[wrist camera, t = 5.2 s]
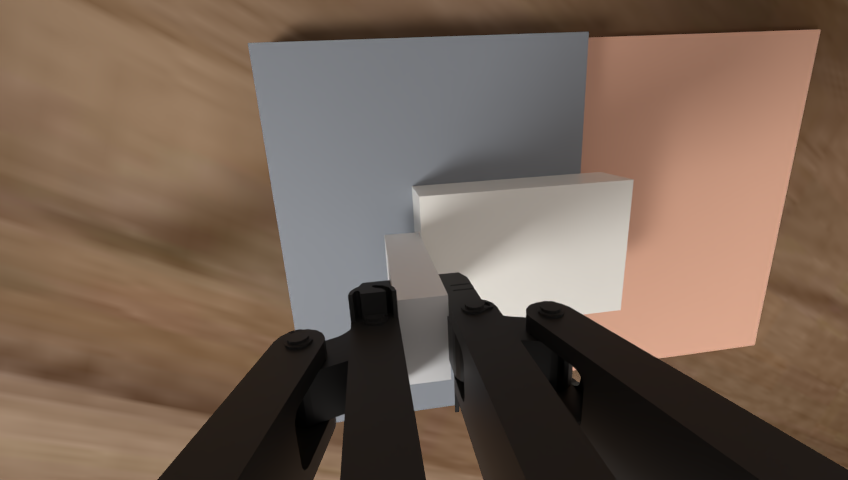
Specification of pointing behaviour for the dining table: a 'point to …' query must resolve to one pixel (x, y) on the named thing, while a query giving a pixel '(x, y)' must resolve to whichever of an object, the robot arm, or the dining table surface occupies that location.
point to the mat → (696, 175)
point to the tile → (531, 238)
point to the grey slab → (402, 146)
